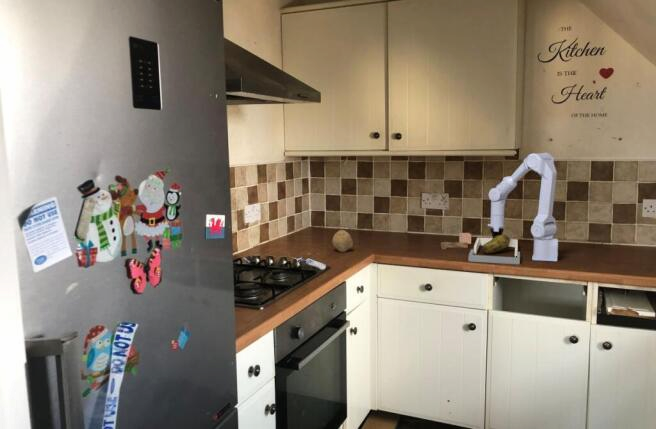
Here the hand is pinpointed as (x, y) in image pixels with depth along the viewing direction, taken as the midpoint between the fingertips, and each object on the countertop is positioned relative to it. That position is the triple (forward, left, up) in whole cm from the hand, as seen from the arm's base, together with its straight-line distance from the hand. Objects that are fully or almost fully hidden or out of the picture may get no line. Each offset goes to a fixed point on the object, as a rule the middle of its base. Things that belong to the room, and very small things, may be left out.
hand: (496, 244), depth 249 cm
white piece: (0, 0, -3) cm, 2 cm away
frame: (0, +19, -3) cm, 19 cm away
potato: (0, +6, -3) cm, 7 cm away
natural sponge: (+66, +22, -3) cm, 70 cm away
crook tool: (+18, 0, -2) cm, 19 cm away
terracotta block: (+15, -14, -3) cm, 20 cm away
